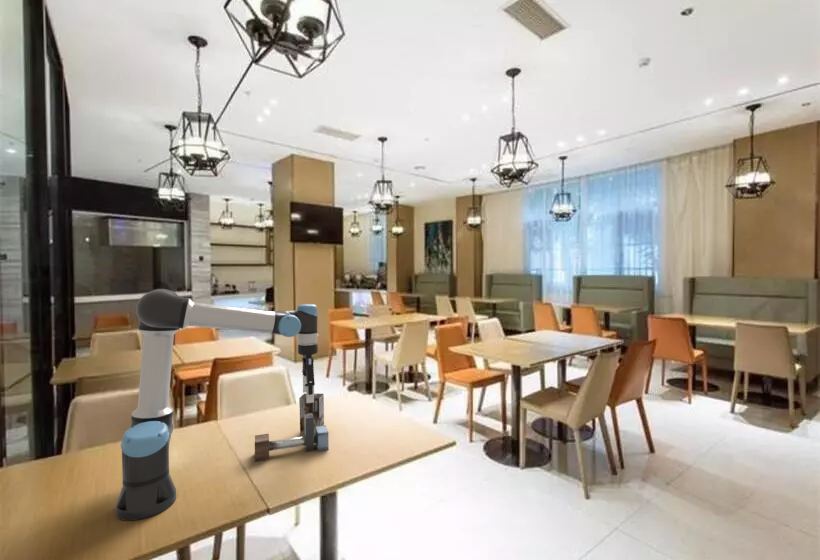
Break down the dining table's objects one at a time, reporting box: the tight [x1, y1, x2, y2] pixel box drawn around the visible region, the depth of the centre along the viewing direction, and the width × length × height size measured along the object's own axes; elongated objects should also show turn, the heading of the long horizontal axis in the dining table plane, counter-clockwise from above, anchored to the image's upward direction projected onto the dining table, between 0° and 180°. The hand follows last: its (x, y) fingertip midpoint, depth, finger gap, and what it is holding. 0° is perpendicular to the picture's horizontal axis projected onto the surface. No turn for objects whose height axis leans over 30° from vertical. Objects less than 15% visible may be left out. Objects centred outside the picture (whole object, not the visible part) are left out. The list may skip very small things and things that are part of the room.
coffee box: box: [298, 392, 325, 435], centre depth 169 cm, size 9×6×16 cm
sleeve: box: [254, 433, 270, 462], centre depth 147 cm, size 7×5×7 cm
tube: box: [269, 413, 318, 452], centre depth 151 cm, size 22×5×13 cm, turn 111°
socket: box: [315, 424, 330, 452], centre depth 155 cm, size 7×4×7 cm, turn 21°
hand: (308, 397), depth 153 cm, fingers open, 13 cm apart
